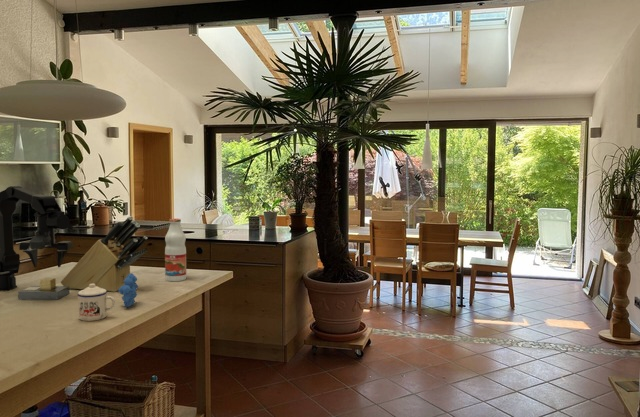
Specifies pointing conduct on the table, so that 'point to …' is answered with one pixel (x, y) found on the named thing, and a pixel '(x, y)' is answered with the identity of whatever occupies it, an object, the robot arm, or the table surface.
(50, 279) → the wooden square beam
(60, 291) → the rail plate
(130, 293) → the grapes
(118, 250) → the knife block
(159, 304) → the table surface
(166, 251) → the fruit juice
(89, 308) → the teacup with lid
